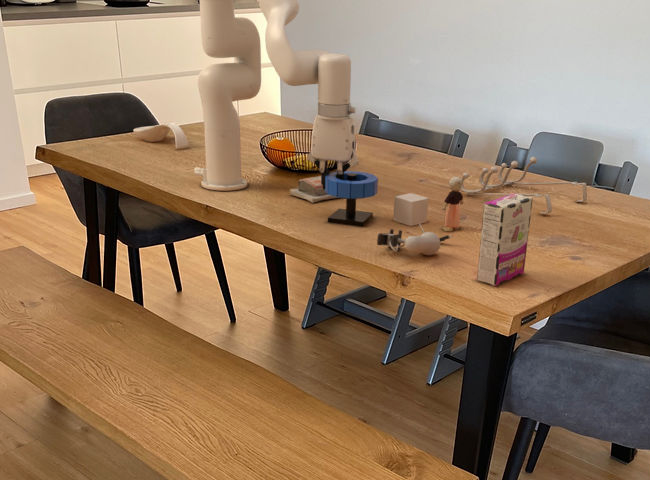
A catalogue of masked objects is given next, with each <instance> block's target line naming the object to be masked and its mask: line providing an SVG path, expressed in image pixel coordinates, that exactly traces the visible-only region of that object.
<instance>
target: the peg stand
mask: <svg viewBox="0 0 650 480" xmlns="http://www.w3.org/2000/svg"><path fill="white" fill-rule="evenodd" d="M347 181H357V174H354V173H349V174H347ZM345 200H346V201H345V208H338V209H337V210H335V211H333V213H331V214H330V215H329V216H328V217H327V223H330V224H336V225H337V224H338V225H344V226H345V225H346V226H352V227H361V228H363V227H364V226H365V225H366V224H367V223H368V222H370V220H371V219H373V218H374V212H371V211H365V210H364V211H363V210H357V199H351V198H350V199H348V198H345Z"/></svg>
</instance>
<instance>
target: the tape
mask: <svg viewBox="0 0 650 480" xmlns="http://www.w3.org/2000/svg"><path fill="white" fill-rule="evenodd" d="M349 173H354V174H357V181H347V174H349ZM336 174H337V171H333V172H330V173H329V174H328V175H326V176H325V191H326V193H327V194H329V195H332V196H335V197H339V198H341V199H346V198H348V199H350V198H351V199H356V200H357V199H367V198H368V199H369V198H372V197H375V196H376V195H377V194H378V185H379V178H378V177H377V176H376V175H375V174H373V173H369V172H364V171H356V170H353V171H352V170H346V171H345V172H344V180H340V179H337V178H336Z"/></svg>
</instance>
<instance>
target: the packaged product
mask: <svg viewBox="0 0 650 480" xmlns="http://www.w3.org/2000/svg"><path fill="white" fill-rule="evenodd" d="M297 184H298V186H297V187H295V188H290V189H289V193H290V196H294V197H297V198H300V199H303V200H307V201H308V202H311V203H317V202H322V201H326V200H332V199H338V198H339V197H335V196H332V195H329V194H327V193H326V191H325V189H323V185H321V175H318V176H317V175H316V176H312V177H306V178H305V177H304V178H301V179H299V180H298V182H297Z"/></svg>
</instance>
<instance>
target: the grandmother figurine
mask: <svg viewBox="0 0 650 480" xmlns="http://www.w3.org/2000/svg"><path fill="white" fill-rule="evenodd" d="M462 183H463V184H464V182H463V181H462V177H459V176H456V175H455V176H453V177H452V178H449V181H448V185H449V188H450V191H449V192H448V194H447V195H446V198H445V199H444V201H443V204H442V207H441V210H442V211H446V213H445V217H444V224H443V227H442V230H443V231H444V232H453V231H455V230H459V229H460V226H461V221H460V220H461V217H460V216H461V215H460V213H461V212H460V205H461V206H463V205H464V203H465V202H464V197H463V194H462V192H460V190H461V184H462Z"/></svg>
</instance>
